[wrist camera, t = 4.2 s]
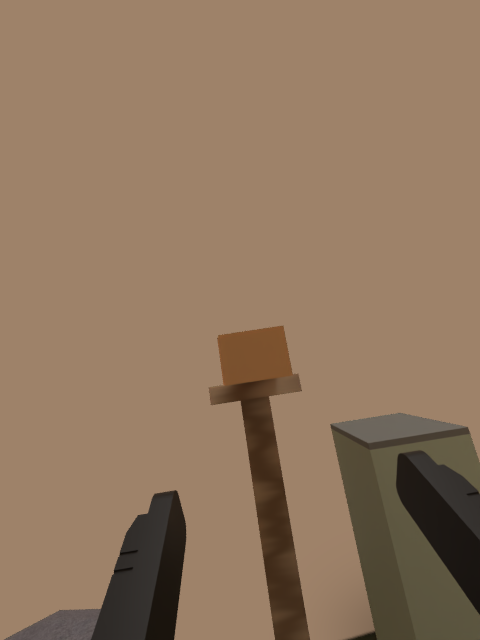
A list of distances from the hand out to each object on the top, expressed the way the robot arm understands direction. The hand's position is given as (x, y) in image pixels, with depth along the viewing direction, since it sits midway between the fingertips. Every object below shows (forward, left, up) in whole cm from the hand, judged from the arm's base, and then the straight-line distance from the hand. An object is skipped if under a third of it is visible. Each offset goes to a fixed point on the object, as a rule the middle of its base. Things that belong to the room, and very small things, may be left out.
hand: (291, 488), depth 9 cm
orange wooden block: (0, +13, +4) cm, 14 cm away
